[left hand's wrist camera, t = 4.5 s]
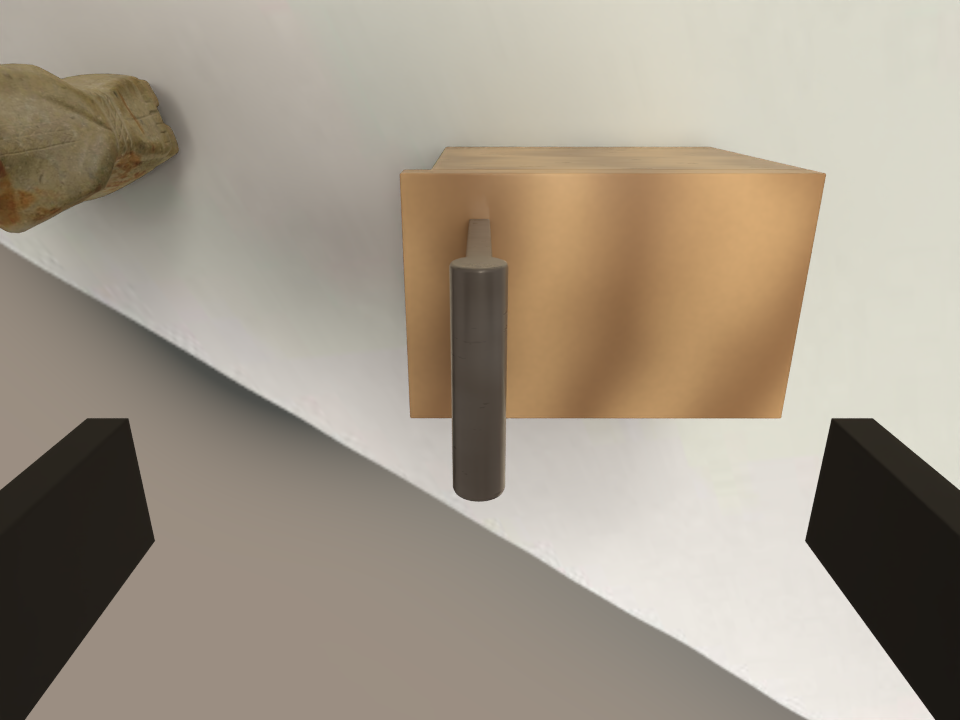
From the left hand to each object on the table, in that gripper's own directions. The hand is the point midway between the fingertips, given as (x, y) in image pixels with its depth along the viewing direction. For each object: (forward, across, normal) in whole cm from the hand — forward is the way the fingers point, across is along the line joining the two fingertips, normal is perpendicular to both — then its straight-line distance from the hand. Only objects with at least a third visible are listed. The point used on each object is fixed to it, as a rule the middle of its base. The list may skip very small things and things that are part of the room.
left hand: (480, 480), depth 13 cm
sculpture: (+23, -18, +5) cm, 30 cm away
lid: (+13, +4, 0) cm, 13 cm away
